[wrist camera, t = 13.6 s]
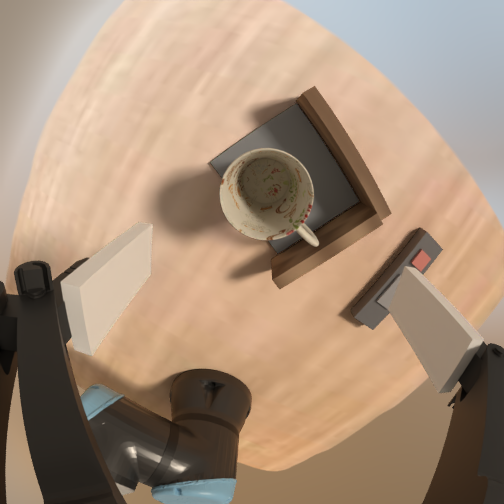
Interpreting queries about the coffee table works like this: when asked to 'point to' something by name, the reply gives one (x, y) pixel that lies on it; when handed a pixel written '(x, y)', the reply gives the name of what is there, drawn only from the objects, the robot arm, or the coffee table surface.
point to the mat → (312, 158)
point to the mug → (268, 195)
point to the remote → (395, 278)
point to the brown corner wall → (348, 223)
